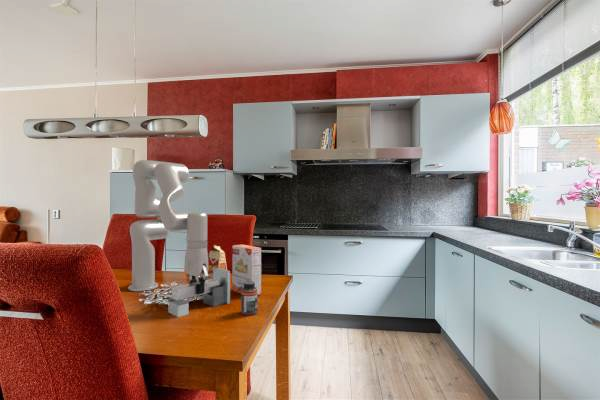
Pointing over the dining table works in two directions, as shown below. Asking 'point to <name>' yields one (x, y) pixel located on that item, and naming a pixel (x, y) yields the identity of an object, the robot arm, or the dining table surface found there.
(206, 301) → the cup bracket
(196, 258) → the robot arm
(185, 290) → the rail
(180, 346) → the dining table surface
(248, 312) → the supplement bottle
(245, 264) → the cracker box
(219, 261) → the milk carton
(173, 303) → the block
